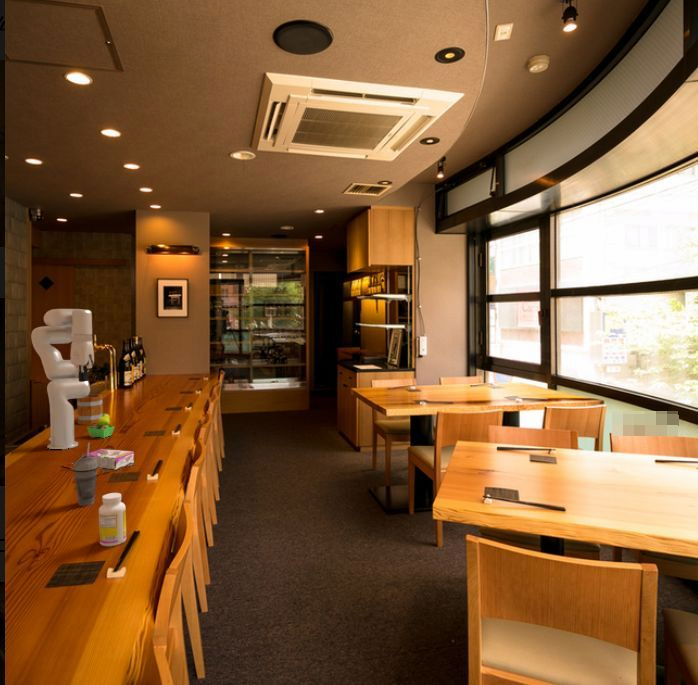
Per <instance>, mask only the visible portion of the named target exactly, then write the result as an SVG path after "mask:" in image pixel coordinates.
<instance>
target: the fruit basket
mask: <svg viewBox="0 0 698 685" xmlns="http://www.w3.org/2000/svg"><path fill="white" fill-rule="evenodd" d="M110 417H111V416H110V415H109V414H108V413H103V415H102V417H101V418H99V419H98V422H99V423H97V424H93V425H91V426H88V427H86V428H87V429H86V430H87V432H88V434H89V436H94V437H101V438H100V439H102V438H104V439H106V438H105V437H108V436H111V435H113V432H114V429H115V425H114V426H113V425H110V423H111V421H110V420H111V419H110ZM94 437H93V438H94ZM111 437H112V436H111ZM108 438H109V437H108Z"/></svg>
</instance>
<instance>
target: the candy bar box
mask: <svg viewBox="0 0 698 685" xmlns="http://www.w3.org/2000/svg"><path fill="white" fill-rule="evenodd" d="M83 456H87V453H84V454H82V455H81V457H83ZM88 456H90V457H92V458H94V459H95V460H96V462H97V466H98V468H103V469H114V470H116V469H119V468H121V467H124V466H126V465H129V464H134V462H135V452H134V451H130V450H118V449H107V448H106V449H105V448H101V449H100V448H99V449H97V450H94V451H90V452H89V455H88Z"/></svg>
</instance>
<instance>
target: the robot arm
mask: <svg viewBox="0 0 698 685" xmlns="http://www.w3.org/2000/svg"><path fill="white" fill-rule="evenodd" d="M92 313H93V312H92V311H91V310H90V309H81V308H54V309H50V310H48V311H46V313H45V314H44V316H43V322H44V323H45V326H39V327H36V328H34V329H33V330H32V332H31V337H30V338H31V342H32V346H33V349H34V350H35V352H36V353H37V355H38V356H39V357H40V360H41V364H42V366H43V370H44V373H45V375H46V379H48V380H49V381H50V382H48V384H47V388H46V389H47V391H46V392H47V395H48V402H49V413H50V414H49V415H50V416H49V417H50V418H49V419H50V437H49V438H48V441H50V443H49V444H48V445H46V446H47V449H48V448H49V449H48V450H50V449H62V450H69V449H72V448H76V447H78V446H79V442H78V441H75V412H74V410H75V409H74V406H73V405H72V404H71V402H69V401H68V400H70V399H77V398H82V397H86V396H87V395H90V392H91V387H90V381H89V371H90V369H92V368H93V365H94V362H95V353H94V352H95V351H94V345H93V322H92V321H93V315H92ZM70 343H71V344H70ZM52 344H53V345H55V344H56V345H57V344H58V345H59V344H70V359H63V356H62V353H61V351H59V349H57V348H56V347H55V346H53V345H52ZM68 448H69V449H68Z"/></svg>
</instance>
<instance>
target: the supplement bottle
mask: <svg viewBox="0 0 698 685" xmlns="http://www.w3.org/2000/svg"><path fill="white" fill-rule="evenodd" d="M101 499H102V503H103V504H101V506H100V507H99V509H98V530H99V544H100V545H101V546H103V547H115V546H119V545H121V544H123V543H124V542H125V541H126V540H127V519H126V518H127V516H126V515H127V514H126V511H127V510H126V509H127V508H126V507H127V506H126V505H125V503H124V502H122V494H121V493H119V492H111V493H107V494H104V495H102V498H101Z"/></svg>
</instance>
